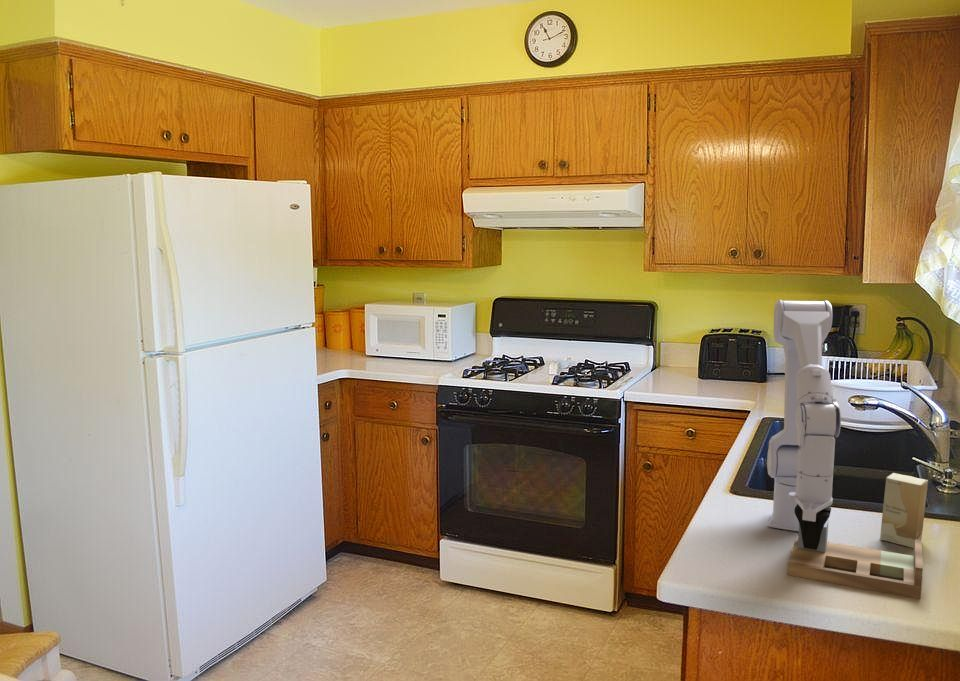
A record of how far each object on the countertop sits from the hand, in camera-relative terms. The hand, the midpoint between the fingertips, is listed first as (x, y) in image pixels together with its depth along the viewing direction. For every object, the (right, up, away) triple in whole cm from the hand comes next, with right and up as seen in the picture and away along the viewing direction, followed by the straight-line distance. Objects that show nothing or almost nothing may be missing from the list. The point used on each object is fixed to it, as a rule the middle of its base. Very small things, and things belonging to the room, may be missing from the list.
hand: (810, 547), depth 145 cm
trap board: (+6, -3, -2) cm, 8 cm away
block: (+2, -1, +3) cm, 4 cm away
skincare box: (+21, -2, +11) cm, 24 cm away
